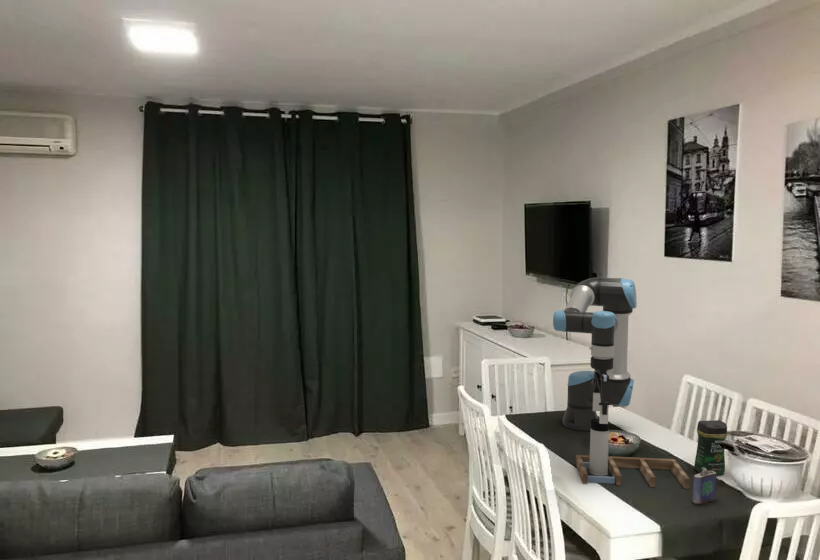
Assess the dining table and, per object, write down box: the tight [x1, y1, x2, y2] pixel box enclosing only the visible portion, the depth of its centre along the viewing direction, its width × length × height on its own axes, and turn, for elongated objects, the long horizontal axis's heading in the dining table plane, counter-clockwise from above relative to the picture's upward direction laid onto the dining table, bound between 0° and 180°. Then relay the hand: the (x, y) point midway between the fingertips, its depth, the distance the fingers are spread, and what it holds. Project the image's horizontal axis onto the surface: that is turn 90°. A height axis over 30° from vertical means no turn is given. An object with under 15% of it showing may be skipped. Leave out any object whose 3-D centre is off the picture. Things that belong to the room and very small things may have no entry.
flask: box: [692, 467, 718, 505], centre depth 212 cm, size 9×3×11 cm, turn 117°
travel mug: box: [588, 418, 610, 477], centre depth 231 cm, size 6×7×20 cm
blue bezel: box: [583, 462, 616, 485], centre depth 232 cm, size 14×9×2 cm, turn 174°
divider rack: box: [575, 454, 691, 490], centre depth 232 cm, size 18×34×4 cm, turn 84°
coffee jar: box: [694, 419, 728, 476], centre depth 235 cm, size 10×8×19 cm
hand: (600, 417), depth 230 cm, fingers open, 13 cm apart
